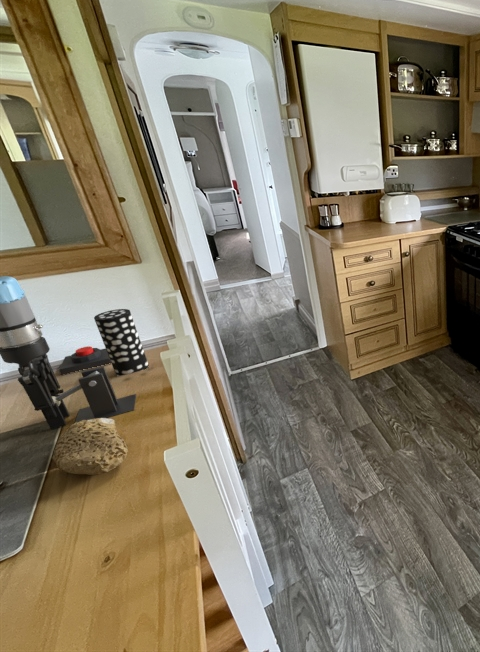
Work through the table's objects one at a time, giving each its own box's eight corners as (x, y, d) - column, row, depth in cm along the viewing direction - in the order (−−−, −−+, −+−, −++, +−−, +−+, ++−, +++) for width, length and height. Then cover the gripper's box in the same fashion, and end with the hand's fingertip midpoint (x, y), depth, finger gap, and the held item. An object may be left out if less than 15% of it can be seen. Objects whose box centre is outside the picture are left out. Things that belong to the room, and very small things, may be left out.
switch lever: (46, 416, 94) (32, 407, 92) (49, 408, 97) (36, 400, 95) (104, 382, 99) (93, 373, 97) (106, 376, 101) (95, 367, 99)
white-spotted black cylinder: (109, 374, 120) (87, 317, 113) (137, 361, 128) (118, 307, 120) (127, 379, 118) (105, 321, 111) (155, 366, 125) (136, 311, 118)
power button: (76, 358, 123) (74, 353, 122) (78, 353, 125) (76, 348, 125) (92, 354, 125) (91, 349, 124) (94, 349, 128) (92, 345, 127)
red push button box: (61, 375, 119) (56, 364, 118) (67, 362, 127) (63, 352, 125) (111, 364, 126) (107, 353, 125) (114, 352, 134) (110, 342, 132)
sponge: (64, 451, 91) (36, 493, 75) (62, 420, 90) (34, 456, 74) (136, 438, 99) (125, 474, 83) (135, 409, 98) (123, 440, 82)
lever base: (74, 430, 96) (55, 388, 91) (80, 412, 103) (62, 372, 98) (135, 413, 103) (120, 373, 98) (137, 397, 109) (123, 358, 105)
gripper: (34, 351, 84) (74, 433, 93) (51, 325, 97) (85, 400, 105) (-16, 361, 80) (31, 447, 89) (8, 333, 93) (47, 411, 101)
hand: (60, 421), depth 97 cm, fingers closed on switch lever, 4 cm apart
